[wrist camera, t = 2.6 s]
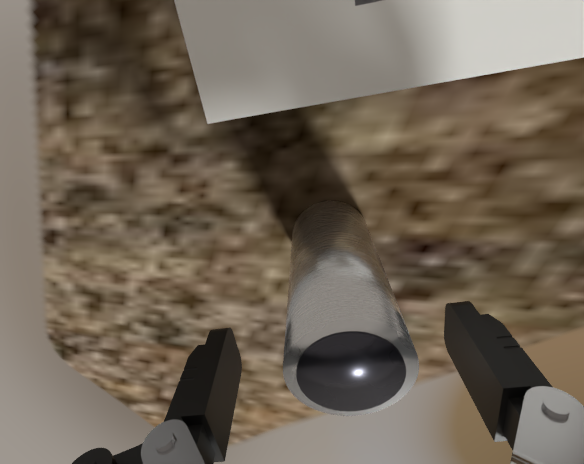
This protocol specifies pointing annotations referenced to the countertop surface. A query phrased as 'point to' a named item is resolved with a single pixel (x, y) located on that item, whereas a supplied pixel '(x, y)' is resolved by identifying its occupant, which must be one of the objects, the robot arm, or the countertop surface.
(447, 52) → the white slotted plate
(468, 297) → the countertop surface
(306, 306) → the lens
